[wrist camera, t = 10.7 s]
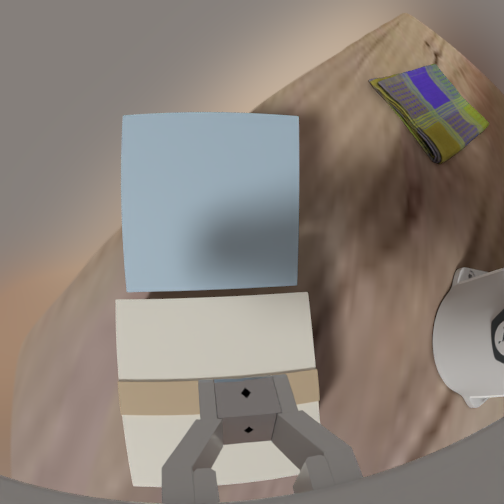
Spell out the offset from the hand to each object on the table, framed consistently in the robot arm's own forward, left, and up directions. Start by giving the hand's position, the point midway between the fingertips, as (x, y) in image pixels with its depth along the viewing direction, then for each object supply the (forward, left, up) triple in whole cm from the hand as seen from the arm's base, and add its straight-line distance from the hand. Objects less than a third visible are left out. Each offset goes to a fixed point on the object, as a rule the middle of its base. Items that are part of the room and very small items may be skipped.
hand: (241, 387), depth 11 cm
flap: (0, -6, -11) cm, 12 cm away
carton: (0, +2, -19) cm, 19 cm away
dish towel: (-39, -36, -20) cm, 57 cm away
